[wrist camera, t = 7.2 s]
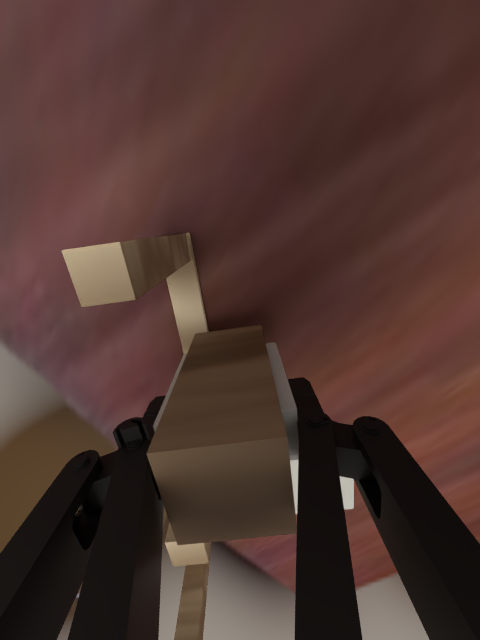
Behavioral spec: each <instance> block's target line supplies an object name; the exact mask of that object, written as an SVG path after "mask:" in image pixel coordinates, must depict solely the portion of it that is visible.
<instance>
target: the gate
mask: <svg viewBox="0 0 480 640" xmlns="http://www.w3.org/2000/svg"><path fill="white" fill-rule="evenodd" d="M62 253H63V256H64V259H65V261H66V264H67V267H68V270H69V273H70V276H71V278H72V281H73V284H74V287H75V290H76V293H77V295H78V298H79V301H80V304H81V307H86V306H93V305H101V304H108V303H116V302H123V301H130V300H136V299H137V298H139V297H140V296H142V295H143V294H145V293H146V292H147V291H149V290H150V289H152V288H153V287H154V286H156V285H157V284H159V283H160V282H162V281H163V280H164V279H167V284H168V288H169V292H170V297H171V301H172V305H173V310H174V314H175V318H176V323H177V327H178V331H179V335H180V340H181V344H182V348H183V353H184V354H187V353H188V350H189V348H190V345H191V343H192V340H193V338H194V335H195V334H196V333H204V332H209V330H208V325H207V320H206V314H205V309H204V304H203V299H202V293H201V288H200V283H199V278H198V272H197V267H196V262H195V257H194V251H193V246H192V241H191V236H190V233H184V234H176V235H168V236H161V237H153V238H146V239H138V240H130V241H123V242H116V243H109V244H102V245H95V246H88V247H81V248H74V249H67V250H62ZM165 544H166V547H167V550H168V553H169V556H170V559H171V561H172V564H173V566H182V565H195V564H206V563H209V559H210V548H211V542H207V543H197V544H187V545H177V542H176V539H175V536H174V533H173V530H172V527H171V524H170V523H169V527H168V531H167V536H166V540H165Z"/></svg>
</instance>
